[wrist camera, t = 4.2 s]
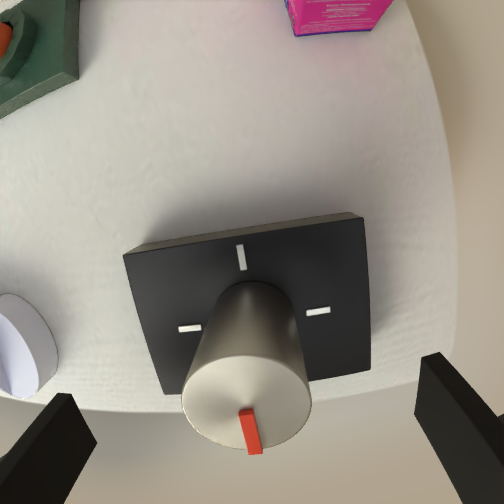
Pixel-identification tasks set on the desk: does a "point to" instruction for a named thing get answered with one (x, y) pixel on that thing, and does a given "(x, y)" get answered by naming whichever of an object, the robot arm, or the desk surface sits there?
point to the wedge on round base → (24, 348)
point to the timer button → (4, 38)
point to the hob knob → (248, 372)
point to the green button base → (38, 51)
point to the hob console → (265, 271)
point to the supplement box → (334, 15)
